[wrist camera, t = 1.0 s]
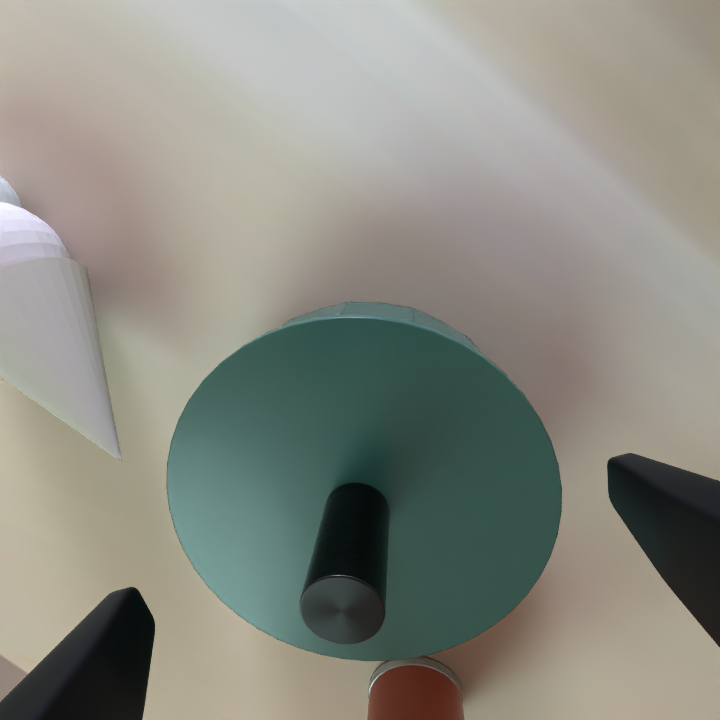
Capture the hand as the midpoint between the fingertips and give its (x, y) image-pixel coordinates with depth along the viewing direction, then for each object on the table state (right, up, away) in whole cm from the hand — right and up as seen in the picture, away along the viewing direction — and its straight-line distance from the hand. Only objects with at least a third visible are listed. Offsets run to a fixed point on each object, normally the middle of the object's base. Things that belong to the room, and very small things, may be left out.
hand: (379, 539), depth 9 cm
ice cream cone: (-14, +6, +15) cm, 21 cm away
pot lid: (0, -3, +10) cm, 11 cm away
